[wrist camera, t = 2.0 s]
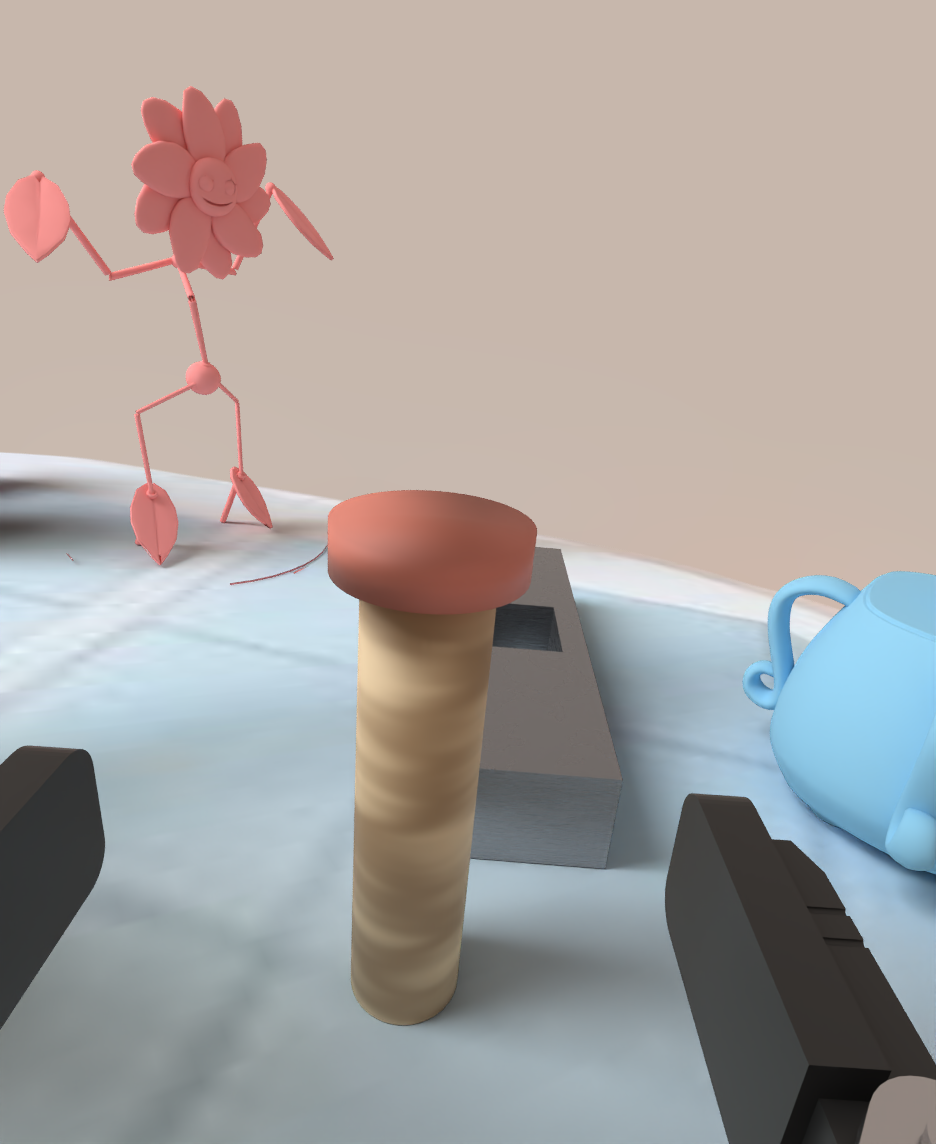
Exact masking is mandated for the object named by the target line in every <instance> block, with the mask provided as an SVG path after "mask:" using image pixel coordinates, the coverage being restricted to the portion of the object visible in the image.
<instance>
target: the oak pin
mask: <svg viewBox="0 0 936 1144" xmlns="http://www.w3.org/2000/svg"><path fill="white" fill-rule="evenodd" d="M536 536H537V528H536V525H535V524H534V522H533V521H532V520H531V519H530V518H529V517H528V516H526V515H524V514H523V513H522V512H520V511H518V510H516V509H514V508H512V507H509V506H507V505H504V504H501V503H498V502H495V501H492V500H488V499H484V498H480V497H476V496H470V495H465V494H457V493H450V492H441V491H423V490H422V491H421V490H406V491H405V490H402V491H388V492H379V493H371V494H367V495H362V496H358V497H354V498H351V499H349V500H346V501H344V502H342V503H340V504H338V505H337V506H335V507H334V508H333V509H332V510H331V511H330V513H329V515H328V574H329V577H330V578H331V580H332V581H333V583H334V584H335V585H336V586H337V587H338V588H340V589H341V590H343V591H344V592H345V593H347V594H349V595H351V596H353V597H355V598H357V599H359V639H358V682H357V726H356V770H355V814H354V858H353V902H352V945H351V985H352V990H353V993H354V995H355V997H356V999H357V1001H358V1003H359V1004H360V1005H361V1007H362V1008H363V1009H364V1010H365V1011H366V1012H367V1013H369V1014H370V1015H371V1016H373V1017H375V1018H376V1019H378V1020H380V1021H383V1022H386V1023H389V1024H395V1025H412V1024H417V1023H421V1022H423V1021H426V1020H428V1019H430V1018H432V1017H434V1016H435V1015H437V1014H438V1013H439V1012H441V1011H442V1010H443V1009H444V1008H445V1007H446V1005H447V1004H448V1003H449V1001H450V1000H451V998H452V996H453V994H454V992H455V989H456V985H457V978H458V968H459V959H460V949H461V940H462V930H463V921H464V911H465V902H466V892H467V882H468V873H469V863H470V854H471V844H472V835H473V825H474V816H475V806H476V797H477V787H478V777H479V768H480V758H481V749H482V739H483V730H484V720H485V711H486V701H487V692H488V682H489V673H490V663H491V653H492V644H493V634H494V625H495V615H496V608H498V607H501V606H504V605H506V604H509V603H511V602H513V601H515V600H517V599H518V598H520V597H521V596H522V595H523V594H525V593H526V591H527V590H528V589H529V586H530V584H531V577H532V569H533V560H534V552H535V544H536Z"/></svg>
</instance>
